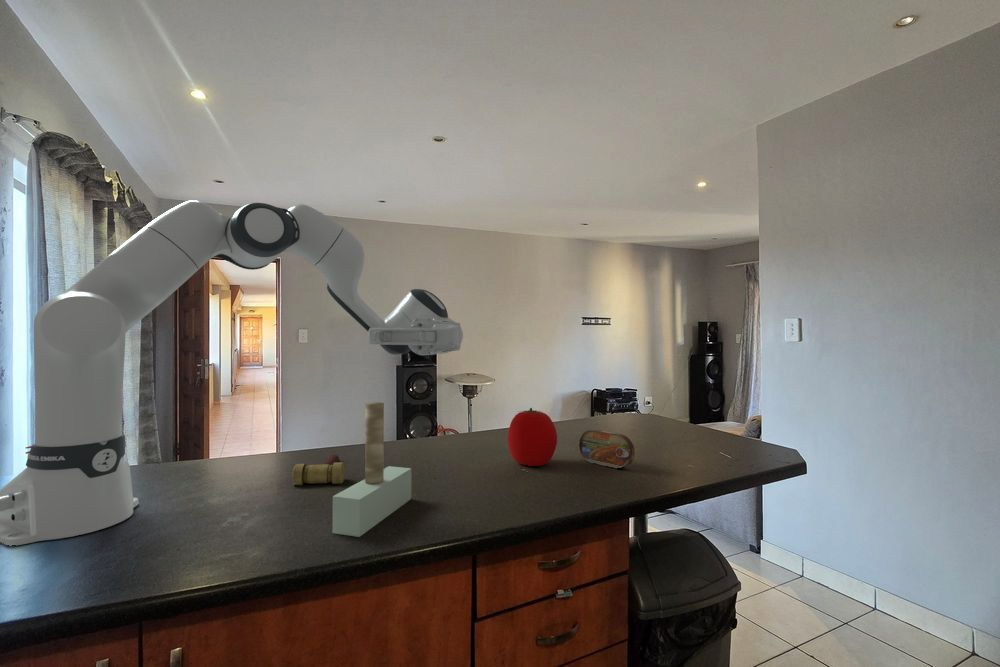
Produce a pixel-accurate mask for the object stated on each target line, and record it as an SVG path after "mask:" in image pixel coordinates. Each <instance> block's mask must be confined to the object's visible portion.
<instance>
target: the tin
mask: <svg viewBox="0 0 1000 667" xmlns="http://www.w3.org/2000/svg"><path fill="white" fill-rule="evenodd" d="M578 446H579V452H580V454H581V455H580V456H582V458H583V459H584V458H586V459H591V460H596V461H600V462H605V463H610V464H614V465H618V466H622V467H625V468H627V467H629V466H631V464H632V463H633V461H634V459H635V453H636V451H635V446H634V443H633V442H632V440H631V439H630V438H629V437H628V436H627V435H624V434H622V433H616V432H610V431H604V430H598V429H589V430H586V431H584V432H583V433H582V434H581V436H580V438H579V443H578ZM626 466H627V467H626Z"/></svg>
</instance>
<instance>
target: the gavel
mask: <svg viewBox="0 0 1000 667" xmlns="http://www.w3.org/2000/svg"><path fill="white" fill-rule="evenodd" d="M345 469H346V468H345V464H344V462H343V461H342V462H340V458H339V456H338V455H337V454H331V455H330V456H329V457H328V458H326V459H325V460H324V461H323V462H322V463H321V464H309V465H307V464H306V463H296V464H294V466H293V468H292V473H291V474H292V475H291V478H292V479H291V480H292V485H293V486H294V485H296V486H304V485H305V484H308V485H310V484H311V485H313V484H314V485H316V484H329V483H332V485H341V484H343V482H344V480H345V474H346V473H345ZM304 483H305V484H304ZM303 484H304V485H303Z"/></svg>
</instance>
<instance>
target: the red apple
mask: <svg viewBox="0 0 1000 667" xmlns="http://www.w3.org/2000/svg"><path fill="white" fill-rule="evenodd" d="M507 444H508V449H509V452H510V455H511V458H513V459H514V461H515V462H516V463H518V464H520V465H522V464H523V465H524V466H526V465H528V466H527V467H531V466H539V467H542V466H545V465H546V464H548V463H549V462H550V461H551V459H552V458H553V456H554V454H555V451H556V448H557V444H558V433H557V429H556V426H555V424H554V422H553V420H552V419H551V417H550V416H549V415H548V414H547V413H545V412H544V411H542V410H535V409H534V410H533V407H529V409H528V410H523V411H522V410H520V411H518V413H517V414H515V415H514V417H513V418H512V420H511V421H510V424H509V427H508V433H507ZM523 465H522V466H523Z"/></svg>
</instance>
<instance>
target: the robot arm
mask: <svg viewBox="0 0 1000 667" xmlns="http://www.w3.org/2000/svg"><path fill="white" fill-rule="evenodd" d="M282 253H291V254H294V255H296V256H298V257H301V258H302V259H304V260H305V261H306V262H308V263H310V264H311V265H312V266H313V267H314V268H316V269H317V270H318V271H319V272H320V273H321V274H322V276H323V277H324V279H325V280H326V282H327V283H326V284H327V285H326V289H327V292H328V293H329V295H330V297H332V299H333V300H334V301H335V302H336V303H337V304H338V305H339V306H340V307H341V308H342V309H343V310H344V311H345V312H346V313H347V314H349V316H351V318H353V319H354V320H355V322H357V323H358V324H359V325H360V326H361V327H362V328H363V329H365V330H366V331H367V332H368V333H367V340H368V343H369V344H370V345H379V346H380V347H381V348H382V349H384V351H385V352H387V353H389V354H390V355H395V356H397V355H405V354H408V353H410V351H412V352H413V353H415V354H416V355H419V356H431V355H432V356H433V355H437V354H438V355H442V354H447V353H450V352H455V351H460V350H461V346H462V345H461V344H462V342H463V339H464V332H463V328H462V326H461V322H456V321H455V320H453V319H451V318H450V317H449V315H448V314H449V313H448V311H447V310H448V309H447V307H446V306H445V304H444V303H443V302H442V301H441V299H440V298H439V297H438V296H436V295H435V294H434V293H432V292H430V291H428V290H426V289H421V288H412V289H410V291H408V293H406V295H405V296H404V297H403V298H402V299H401V300H400V302H399V303H398V304H397V305H396V306H395V307H394V309H392V310H391V312H390V313H389V314H388V315H387V316H385V317H384V318H383V317H380V315H379V314H378V313H376V312H375V311H374V310H373V309H372V308H371V307H370V306H369V305H368V304H367V302H365V300H363V299H362V298H361V296H360V295H359V292H358V285H359V282H360V279H361V275H362V272H363V268H364V266H365V265H364V263H365V250H364V248H363V245H362V243H361V241H360V240H359V239H358V238H356V236H354V234H352V233H351V232H350V231H349V230H348V229H346V228H345V227H343V226H342V225H341V224H339V223H338V222H336V221H335V220H334V219H332V218H331V217H329V216H328V215H326V214H324V213H322V212H321V211H319V210H317V209H315V208H313V207H312V206H309V205H307V204H302V203H299V204H296V205H295V204H294V205H293V206H291V207H289V208H288V209H286V208H282V207H276V206H274V205H272V204H268V203H264V202H252V203H247V204H245V205H243V206H241V207H240V208H238V209H237V210H236V211H235V212H234V214H233V215H232V216H230V215H224V214H222V213H220V212H219V211H217V209H215V208H214V207H212V205H209V204H208V203H205V202H202V201H200V200H199V201H198V200H187V201H184V202H182V203H180V204H178V205H176V206H174V207H173V208H171V209H168V210H166V211H165V212H163V213H162V214H161V215H159V216H157V217H155V219H152V220H151V221H150V222H149V223H148V224H146V225H145V226H144V227H142V228H141V229H140V230H139V231H137V232H136V233H134V235H132V236H130V238H128V239H127V240H126V241H124V243H122V244H121V245H120V246H118V247H117V248H116V249H114V250H113V251H112V252H111V253H110V254H108V255H107V256H106V257H104V259H102V260H101V261H100V262H99V263H98V264H97V265H95V266H94V267H93V268H92V269H91V270H90V271H88V272H87V273H86V274H85V275H83V276H82V277H81V278H80V279H79V280H78V281H76V282H75V283H74V284H72V285H71V286H70V287H69V288H68V289H66V290H65V291H64V292H63V293H62V294H59V295H57V296H54V297H51V298H50V299H48V300H47V301H46V302H44V303H43V304H42V305H41V306H40V307H39V308H38V310H37V312H36V313H35V316H34V319H33V366H34V367H33V371H34V372H33V373H34V375H33V376H34V443H33V444H32V445H29V446H26V447H25V449H30V450H29V451H26V452H24V453H25V455H27V459H26V463H25V466H26V468H24V469H23V470H22V471H21V472H20V473H18V474H17V475H16V476H15V477H14V478H12V479H11V480H10V481H8V483H6V484H5V485H3V487H2V488H0V543H1V544H3V543H4V544H3V545H5V544H6V545H5V546H7V545H9V546H8V547H13V546H12V545H16V546H20V545H26V544H31V543H36V542H42V541H51V540H59V539H64V538H71V537H75V536H79V535H85V534H89V533H93V532H97V531H99V530H103V529H106V528H109V527H112V526H115V525H116V524H119V523H121V522H124V521H125V520H127V519H128V518H130V517H132V516H133V514H134V508H136V507H137V506H138V505H139V498H138V497H134V494H133V485H132V476H131V474H132V473H131V466H130V463H129V462H128V461H127V460H125V459H124V456H125V455H126V447H127V442H126V436H125V434H123V385H124V372H125V371H124V370H125V354H126V353H125V352H126V351H125V349H126V333H128V332H129V330H131V329H132V328H133V327H134V326H135V325H137V323H139V322H140V321H141V320H143V319H144V318H145V317H147V315H148V314H150V313H151V312H152V311H153V310H155V309H156V308H157V307H158V306H160V305H161V304H162V303H163V302H165V301H166V300H167V299H168V298H169V297H170V296H171V295H172V294H174V292H176V291H177V290H178V289H179V288H180V287H181V286H182V285H184V284H185V283H186V282H187V281H188V280H189V279H190V278H191V277H193V275H194V274H196V273H197V272H198V271H199V270H200V269H201V268H202V267H203V266H205V264H207V263H208V261H210V260H211V259H212V258H215V257H218V258H220V259H222V260H224V261H226V262H229V263H230V264H233V265H235V267H238V268H241V269H244V270H252V271H253V270H260V269H263V268H266V267H268V266H269V265H270V264H271V263H272V262H274V261H275V260H277V259H278V258H279V257H280V255H281V254H282Z"/></svg>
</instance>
